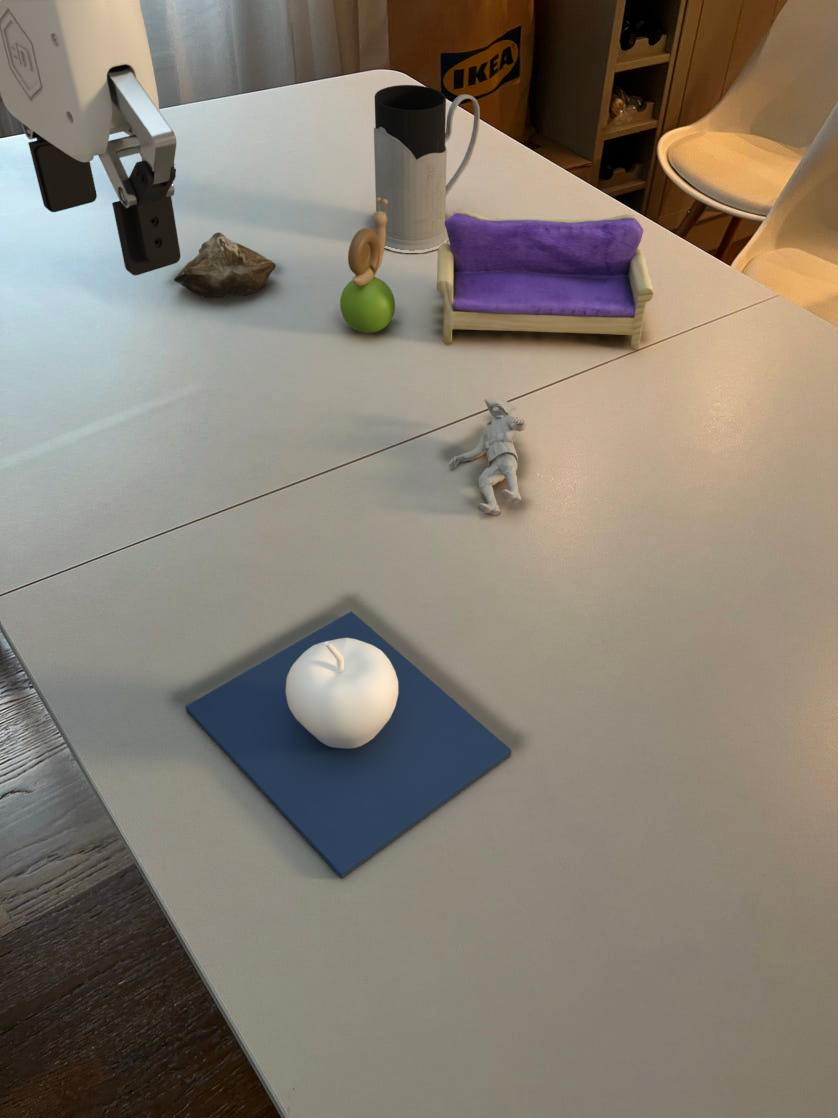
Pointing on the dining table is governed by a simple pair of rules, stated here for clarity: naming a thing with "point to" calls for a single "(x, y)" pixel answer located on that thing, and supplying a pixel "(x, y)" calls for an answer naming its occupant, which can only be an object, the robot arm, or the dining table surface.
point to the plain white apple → (342, 691)
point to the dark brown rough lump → (225, 269)
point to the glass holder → (415, 163)
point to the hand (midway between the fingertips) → (111, 235)
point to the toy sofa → (543, 275)
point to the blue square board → (349, 753)
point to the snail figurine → (368, 280)
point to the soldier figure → (497, 454)
